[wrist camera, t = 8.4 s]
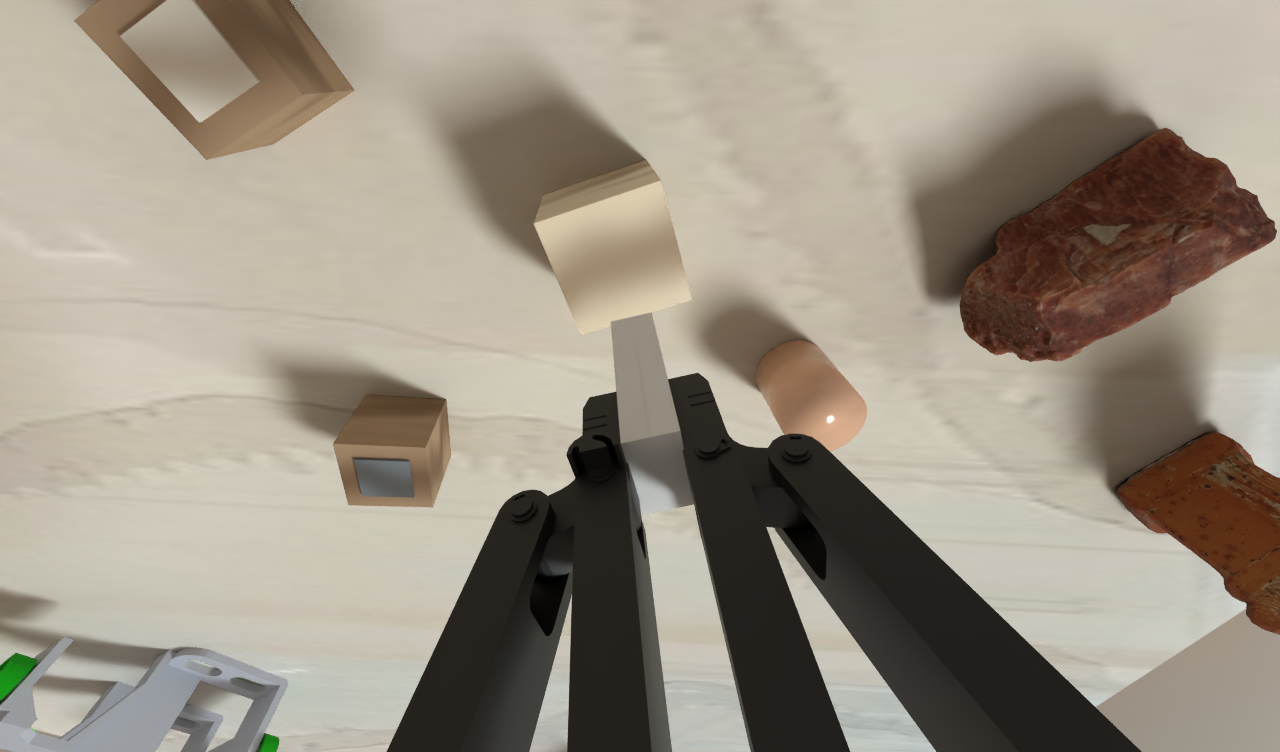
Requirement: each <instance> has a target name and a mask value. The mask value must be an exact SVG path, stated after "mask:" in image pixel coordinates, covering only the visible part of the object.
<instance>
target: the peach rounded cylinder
mask: <svg viewBox="0 0 1280 752" xmlns="http://www.w3.org/2000/svg"><path fill="white" fill-rule="evenodd" d="M756 383H757V386H758V388H759V390H760V391H761V393H762V395H763V397H764V399H765V400H766V402H767V404H768V406H769V408H770V410H771V411H772V413H773V415H774V417H775V419H776V421H777V422H778V424H779V426H780V428H781V430H782V431H783V433H784V435H787V434H804V435H807V436H811V437H813V438H814V439H816V440H817V441H819V442H820V443H821V444H822V445H823V446H824V447H825V448H826V449H827V450H829V451H832V450H835V449H837V448H839V447H841V446H843V445H845V444H846V443H848V442H849V441H850V440H851V439H853V438H854V437H855V436H856V435H857V434H858V432H859V431H860V430H861V428H862V426H863V424H864V422H865V419H866V415H867V408H866V404H865V402H864V400H863V398H862V397H861V396H860V395H859V394H858V392H857V391H856V390H855V389H854V388H853V387H852V385H851V384H850V383H849V382H848V381H847V380H846V378H845V377H844V376H843V375H842V374H841V372H840V371H839V370H838V369H837V368H836V367H835V365H834V364H833V363H832V362H831V361H830V359H829V358H828V357H827V356H826V355H825V354H824V352H823V351H822V350H821V349H820V348H819V347H818V346H817V345H815V344H814V343H812V342H809V341H805V340H793V341H788V342H785V343H782V344H780V345H778V346H776V347H775V348H773V349H772V350H770V351H769V352H768V353H767V354H766V355H765V356H764V357H763V359H762V360H761V362H760V363H759V366H758V368H757V371H756Z"/></svg>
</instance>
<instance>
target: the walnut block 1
mask: <svg viewBox="0 0 1280 752" xmlns="http://www.w3.org/2000/svg"><path fill="white" fill-rule="evenodd" d="M74 21H75V22H76V23H77V24H78V25H79V26H80V27H81V28H82V29H83V31H84V32H85V33H86V34H87V35H88V36H89V37H90V38H91V39H92V40H93V41H94V42H95V43H96V44H97V45H98V46H99V47H100V48H101V49H102V50H103V52H104V53H105V54H106V55H107V56H108V57H109V58H110V59H111V60H112V61H113V62H114V63H115V64H116V65H117V66H118V67H119V68H120V69H121V70H122V72H123V73H124V74H125V75H126V76H127V77H128V78H129V79H130V80H131V81H132V82H133V83H134V84H135V85H136V86H137V87H138V88H139V89H140V90H141V91H142V93H143V94H144V95H145V96H146V97H147V98H148V99H149V100H150V101H151V102H152V103H153V104H154V105H155V106H156V107H157V108H158V109H159V110H160V111H161V113H162V114H163V115H164V116H165V117H166V118H167V119H168V120H169V121H170V122H171V123H172V124H173V125H174V126H175V127H176V128H177V129H178V130H179V131H180V133H181V134H182V135H183V136H184V137H185V138H186V139H187V140H188V141H189V142H190V143H191V144H192V145H193V146H194V147H195V148H196V149H197V150H198V151H199V152H200V154H201V155H202V156H203V157H204V158H205V159H206V160H208V159H212V158H216V157H220V156H225V155H229V154H233V153H237V152H242V151H246V150H250V149H255V148H259V147H263V146H267V145H272V144H274V143H276V142H277V141H279V140H281V139H282V138H284V137H285V136H287V135H288V134H290V133H291V132H293V131H294V130H296V129H297V128H299V127H300V126H302V125H303V124H305V123H306V122H308V121H309V120H311V119H312V118H314V117H315V116H317V115H318V114H320V113H321V112H323V111H324V110H326V109H327V108H329V107H330V106H332V105H333V104H335V103H336V102H338V101H339V100H341V99H342V98H344V97H345V96H347V95H348V94H350V93H351V92H353V91H354V89H353V88H352V86H351V85H350V83H349V82H348V81H347V79H346V78H345V76H344V75H343V74H342V72H341V71H340V70H339V68H338V67H337V65H336V64H335V63H334V61H333V60H332V59H331V57H330V56H329V54H328V53H327V52H326V50H325V49H324V48H323V46H322V45H321V43H320V42H319V41H318V39H317V38H316V37H315V35H314V34H313V32H312V31H311V30H310V28H309V27H308V26H307V24H306V23H305V21H304V20H303V19H302V17H301V16H300V15H299V13H298V12H297V10H296V9H295V8H294V6H293V5H292V3H291V2H290V1H289V0H99V1H98V2H97V3H95V4H94V5H93V6H92V7H90V8H89V9H88V10H87V11H85V12H84V13H83V14H81V15H80V16H79V17H78V18H76V19H75V20H74Z"/></svg>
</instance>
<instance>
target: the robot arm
mask: <svg viewBox="0 0 1280 752" xmlns="http://www.w3.org/2000/svg"><path fill="white" fill-rule="evenodd" d="M611 330H612V342H613V355H614V367H615V379H616V392H613V393H608V394H604V395H599V396H595V397H590V398H589V399H588V401H587V403H586V405H585V406H584V408H583V436H581V437H580V438H578V439H577V440H575V441H574V442H573V443H572V445H571V446H570V447H569V449H568V452H567V458H568V460H569V463H570V465H571V468H572V470H573V473H574V475H575V480H574V481H573V482H572V483H570V484H569V485H568V486H566V487H565V488H563V489H561V490H559V491H557V492H555V493H553V494H551V495H549V496H547V495H546V494H544V493H543V492H541V491H538V490H527V491H522V492H520V493H518V494H516V495H514V496H512V497H511V498H510V499H509V500H507V501H506V502H505V503H504V505H503V506H502V508H501V509H500V510H499V513H498V515H497V517H496V519H495V521H494V523H493V525H492V527H491V530H490V532H489V534H488V536H487V538H486V540H485V542H484V545H483V547H482V549H481V551H480V553H479V555H478V557H477V560H476V562H475V564H474V566H473V568H472V570H471V572H470V575H469V577H468V579H467V581H466V583H465V585H464V587H463V590H462V592H461V594H460V596H459V598H458V600H457V602H456V605H455V607H454V609H453V611H452V613H451V615H450V617H449V620H448V622H447V624H446V626H445V628H444V630H443V632H442V634H441V637H440V639H439V641H438V643H437V645H436V647H435V649H434V652H433V654H432V656H431V658H430V660H429V662H428V664H427V667H426V669H425V671H424V673H423V675H422V677H421V679H420V682H419V684H418V686H417V688H416V690H415V692H414V694H413V697H412V699H411V701H410V703H409V705H408V707H407V709H406V712H405V714H404V716H403V718H402V720H401V722H400V724H399V727H398V729H397V731H396V733H395V735H394V737H393V739H392V741H391V744H390V746H389V748H388V750H387V752H529V750H530V747H531V743H532V739H533V735H534V732H535V728H536V724H537V721H538V717H539V713H540V710H541V706H542V702H543V699H544V695H545V691H546V687H547V684H548V680H549V676H550V673H551V669H552V665H553V662H554V658H555V654H556V651H557V647H558V643H559V640H560V636H561V632H562V628H563V625H564V621H565V617H566V614H567V610H568V606H569V603H570V599H571V595H572V615H571V649H570V683H569V716H568V750H567V752H672V748H671V739H670V731H669V723H668V715H667V706H666V698H665V690H664V682H663V673H662V665H661V657H660V649H659V641H658V632H657V624H656V616H655V608H654V599H653V591H652V583H651V575H650V566H649V558H648V550H647V542H646V534H645V529H644V526H643V523H642V519H641V512H642V515H644V514H649V513H654V512H659V511H664V510H669V509H673V508H678V507H683V506H688V505H693V504H694V506H695V510H696V515H697V520H698V525H699V530H700V535H701V538H702V542H703V546H704V550H705V555H706V559H707V563H708V568H709V572H710V576H711V581H712V585H713V589H714V594H715V598H716V602H717V607H718V611H719V615H720V620H721V624H722V628H723V633H724V637H725V641H726V646H727V650H728V654H729V659H730V663H731V667H732V672H733V676H734V680H735V685H736V689H737V693H738V698H739V702H740V706H741V711H742V715H743V719H744V724H745V728H746V732H747V737H748V741H749V745H750V750H751V752H850V750H849V747H848V745H847V742H846V739H845V737H844V734H843V731H842V729H841V726H840V723H839V721H838V718H837V715H836V713H835V710H834V707H833V705H832V702H831V699H830V697H829V694H828V691H827V689H826V686H825V683H824V681H823V678H822V675H821V673H820V670H819V667H818V664H817V662H816V659H815V656H814V654H813V651H812V648H811V646H810V643H809V640H808V638H807V635H806V632H805V630H804V627H803V624H802V622H801V619H800V616H799V614H798V611H797V608H796V606H795V603H794V600H793V598H792V595H791V592H790V590H789V587H788V584H787V582H786V579H785V576H784V574H783V571H782V568H781V566H780V563H779V560H778V558H777V555H776V552H775V550H774V547H773V544H772V541H771V539H770V536H769V533H768V531H767V528H766V527H774V528H775V530H776V532H777V533H778V535H779V536H780V537H781V539H782V540H783V541H784V543H785V544H786V546H787V547H788V548H789V550H790V551H791V552H792V554H793V555H794V557H795V558H796V559H797V561H798V562H799V563H800V565H801V566H802V568H803V569H804V570H805V572H806V573H807V574H808V576H809V577H810V579H811V580H812V581H813V583H814V584H815V585H816V587H817V588H818V590H819V591H820V592H821V594H822V595H823V596H824V598H825V599H826V601H827V602H828V603H829V605H830V606H831V607H832V609H833V610H834V612H835V613H836V614H837V616H838V617H839V618H840V620H841V621H842V623H843V624H844V625H845V627H846V628H847V629H848V631H849V632H850V633H851V635H852V636H853V638H854V639H855V640H856V642H857V643H858V644H859V646H860V647H861V649H862V650H863V651H864V653H865V654H866V655H867V657H868V658H869V660H870V661H871V662H872V664H873V665H874V666H875V668H876V669H877V671H878V672H879V673H880V675H881V676H882V677H883V679H884V680H885V682H886V683H887V684H888V686H889V687H890V688H891V690H892V691H893V693H894V694H895V695H896V697H897V698H898V699H899V701H900V702H901V704H902V705H903V706H904V708H905V709H906V710H907V712H908V713H909V715H910V716H911V717H912V719H913V720H914V721H915V723H916V724H917V725H918V727H919V728H920V730H921V731H922V732H923V734H924V735H925V736H926V738H927V739H928V741H929V742H930V743H931V745H932V746H933V747H934V749H935V750H936V752H1141V751H1140V750H1139V749H1138V748H1137V747H1136V746H1135V745H1134V744H1133V743H1132V742H1131V741H1130V740H1129V739H1128V738H1126V736H1124V734H1123V733H1121V732H1120V731H1119V730H1118V729H1117V728H1116V727H1115V726H1114V725H1113V724H1112V723H1111V722H1110V721H1109V720H1108V719H1107V718H1106V717H1105V716H1104V715H1103V714H1102V713H1101V712H1099V710H1098V709H1096V707H1095V706H1093V705H1092V704H1091V703H1090V702H1089V701H1088V700H1087V699H1086V698H1085V697H1084V696H1083V695H1082V694H1081V693H1080V692H1079V691H1078V690H1077V689H1076V688H1075V687H1074V686H1073V685H1072V684H1071V683H1070V682H1069V681H1067V680H1066V679H1065V678H1064V677H1063V676H1062V675H1061V674H1060V673H1059V672H1058V671H1057V670H1056V669H1055V668H1054V667H1053V666H1052V665H1051V664H1050V663H1049V662H1048V661H1047V660H1046V659H1045V658H1044V657H1043V656H1042V655H1040V654H1039V653H1038V652H1037V651H1036V650H1035V649H1034V648H1033V647H1032V646H1031V645H1030V644H1029V643H1028V642H1027V641H1026V640H1025V639H1024V638H1023V637H1022V636H1021V635H1020V634H1019V633H1018V632H1017V631H1016V630H1015V629H1013V628H1012V627H1011V626H1010V625H1009V624H1008V623H1007V622H1006V621H1005V620H1004V619H1003V618H1002V617H1001V616H1000V615H999V614H998V613H997V612H996V611H995V610H994V609H993V608H992V607H991V606H990V605H989V604H987V603H986V602H985V601H984V600H983V599H982V598H981V597H980V596H979V595H978V594H977V593H976V592H975V591H974V590H973V589H972V588H971V587H970V586H969V585H968V584H967V583H966V582H965V581H964V580H963V579H962V578H960V577H959V576H958V575H957V574H956V573H955V572H954V571H953V570H952V569H951V568H950V567H949V566H948V565H947V564H946V563H945V562H944V561H943V560H942V559H941V558H940V557H939V556H938V555H937V554H936V553H935V552H933V551H932V550H931V549H930V548H929V547H928V546H927V545H926V544H925V543H924V542H923V541H922V540H921V539H920V538H919V537H918V536H917V535H916V534H915V533H914V532H913V531H912V530H911V529H910V528H909V527H907V526H906V525H905V524H904V523H903V522H902V521H901V520H900V519H899V518H898V517H897V516H896V515H895V514H894V513H893V512H892V511H891V510H890V509H889V508H888V507H887V506H886V505H885V504H884V503H883V502H882V501H880V500H879V499H878V498H877V497H876V496H875V495H874V494H873V493H872V492H871V491H870V490H869V489H868V488H867V487H866V486H865V485H864V484H863V483H862V482H861V481H860V480H859V479H858V478H857V477H856V476H855V475H853V474H852V473H851V472H850V471H849V470H848V469H847V468H846V467H845V466H844V465H843V464H842V463H841V462H840V461H839V460H838V459H837V458H836V457H835V456H834V455H833V454H832V453H831V452H830V451H829V450H827V449H826V448H825V447H824V446H823V445H822V444H821V443H820V442H819V441H817V440H816V439H814V438H813V437H811V436H807V435H804V434H787V435H782V436H780V437H778V438H777V439H775V440H773V441H772V443H771V444H770V446H769V447H768V448H755V447H747V446H744V445H741V444H739V443H737V442H735V441H734V440H733V439H732V438H730V436H729V435H728V433H727V431H726V428H725V425H724V423H723V420H722V417H721V415H720V412H719V409H718V407H717V404H716V402H715V398H714V396H713V393H712V390H711V388H710V385H709V382H708V380H706V379H705V378H704V377H703V376H701V375H700V374H699V373H695V374H691V375H686V376H681V377H677V378H672V379H668V378H667V374H666V370H665V366H664V362H663V358H662V354H661V349H660V345H659V341H658V337H657V333H656V329H655V325H654V321H653V317H652V313H646V314H642V315H637V316H633V317H629V318H624V319H620V320H615V321H611ZM640 509H641V510H640Z"/></svg>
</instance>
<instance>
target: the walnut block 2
mask: <svg viewBox="0 0 1280 752" xmlns="http://www.w3.org/2000/svg"><path fill="white" fill-rule="evenodd" d="M333 446H334V450H335V454H336V458H337V462H338V466H339V470H340V474H341V478H342V482H343V485H344V489H345V493H346V497H347V501H348V505H362V506H403V507H433V505H434V502H435V500H436V497H437V494H438V491H439V488H440V485H441V482H442V480H443V477H444V474H445V471H446V468H447V465H448V463H449V460H450V457H451V449H450V437H449V425H448V414H447V402H446V399H433V398H416V397H399V396H382V395H366V396H365V397H364V399H363V400H362V402H361V403H360V405H359V406H358V408H357V409H356V411H355V412H354V414H353V415H352V416H351V418H350V419H349V421H348V422H347V424H346V425H345V427H344V428H343V430H342V431H341V433H340V434H339V436H338V437H337V439H336V440H335V442H334V443H333Z"/></svg>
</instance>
